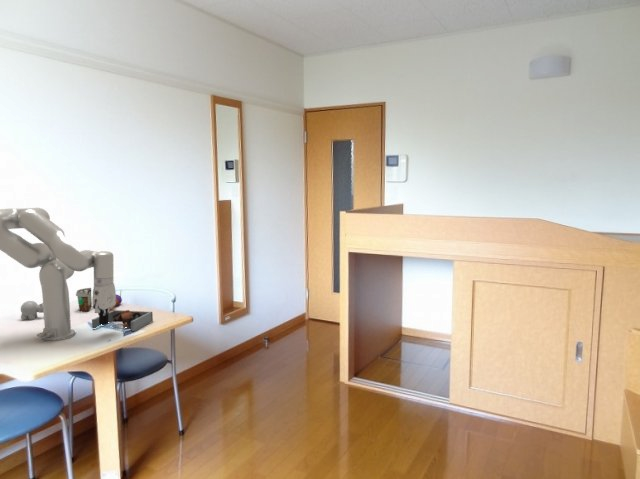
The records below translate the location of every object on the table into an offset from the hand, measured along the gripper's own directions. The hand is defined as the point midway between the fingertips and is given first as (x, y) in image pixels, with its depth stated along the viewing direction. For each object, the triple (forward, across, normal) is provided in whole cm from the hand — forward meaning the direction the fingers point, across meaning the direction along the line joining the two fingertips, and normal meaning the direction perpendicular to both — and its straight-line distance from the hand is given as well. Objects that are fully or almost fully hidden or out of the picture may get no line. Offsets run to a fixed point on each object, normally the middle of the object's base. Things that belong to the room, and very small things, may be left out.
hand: (103, 323), depth 200 cm
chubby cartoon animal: (+6, +16, +46) cm, 49 cm away
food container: (+6, +34, +34) cm, 49 cm away
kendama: (+5, +39, +20) cm, 44 cm away
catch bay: (+4, +12, -1) cm, 13 cm away
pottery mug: (+4, +12, -4) cm, 14 cm away
